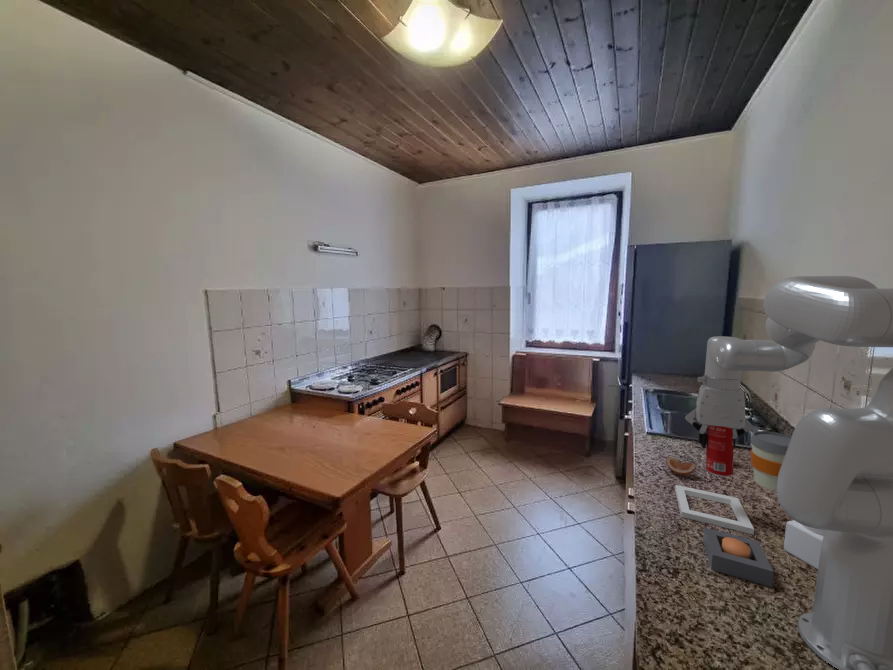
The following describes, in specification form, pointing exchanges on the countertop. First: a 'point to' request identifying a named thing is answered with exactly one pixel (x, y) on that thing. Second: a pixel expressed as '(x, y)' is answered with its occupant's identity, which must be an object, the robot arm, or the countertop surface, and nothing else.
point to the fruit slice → (680, 466)
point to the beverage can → (719, 451)
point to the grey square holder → (738, 559)
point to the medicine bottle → (804, 542)
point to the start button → (735, 547)
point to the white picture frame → (740, 525)
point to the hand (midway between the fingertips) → (715, 447)
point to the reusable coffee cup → (768, 456)
